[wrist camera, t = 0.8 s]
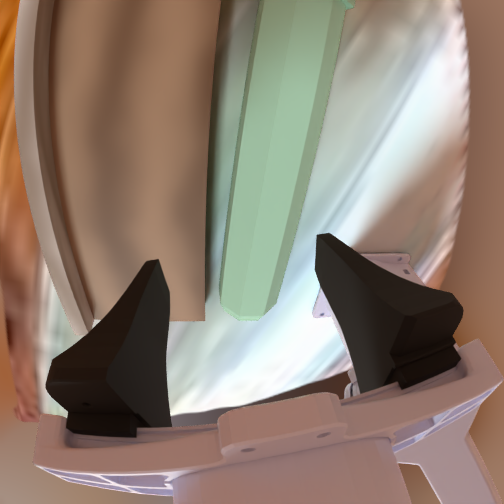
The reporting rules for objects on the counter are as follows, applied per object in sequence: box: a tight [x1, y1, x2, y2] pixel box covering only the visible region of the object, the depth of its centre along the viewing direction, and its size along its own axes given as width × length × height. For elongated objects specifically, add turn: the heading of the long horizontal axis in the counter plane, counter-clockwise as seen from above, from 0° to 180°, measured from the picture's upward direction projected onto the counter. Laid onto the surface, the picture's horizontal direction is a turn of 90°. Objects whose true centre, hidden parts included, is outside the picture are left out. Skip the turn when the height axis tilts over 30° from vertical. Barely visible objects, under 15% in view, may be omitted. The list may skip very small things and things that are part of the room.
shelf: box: [14, 0, 221, 336], centre depth 17 cm, size 12×28×4 cm, turn 174°
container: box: [219, 0, 355, 321], centre depth 19 cm, size 6×6×25 cm
